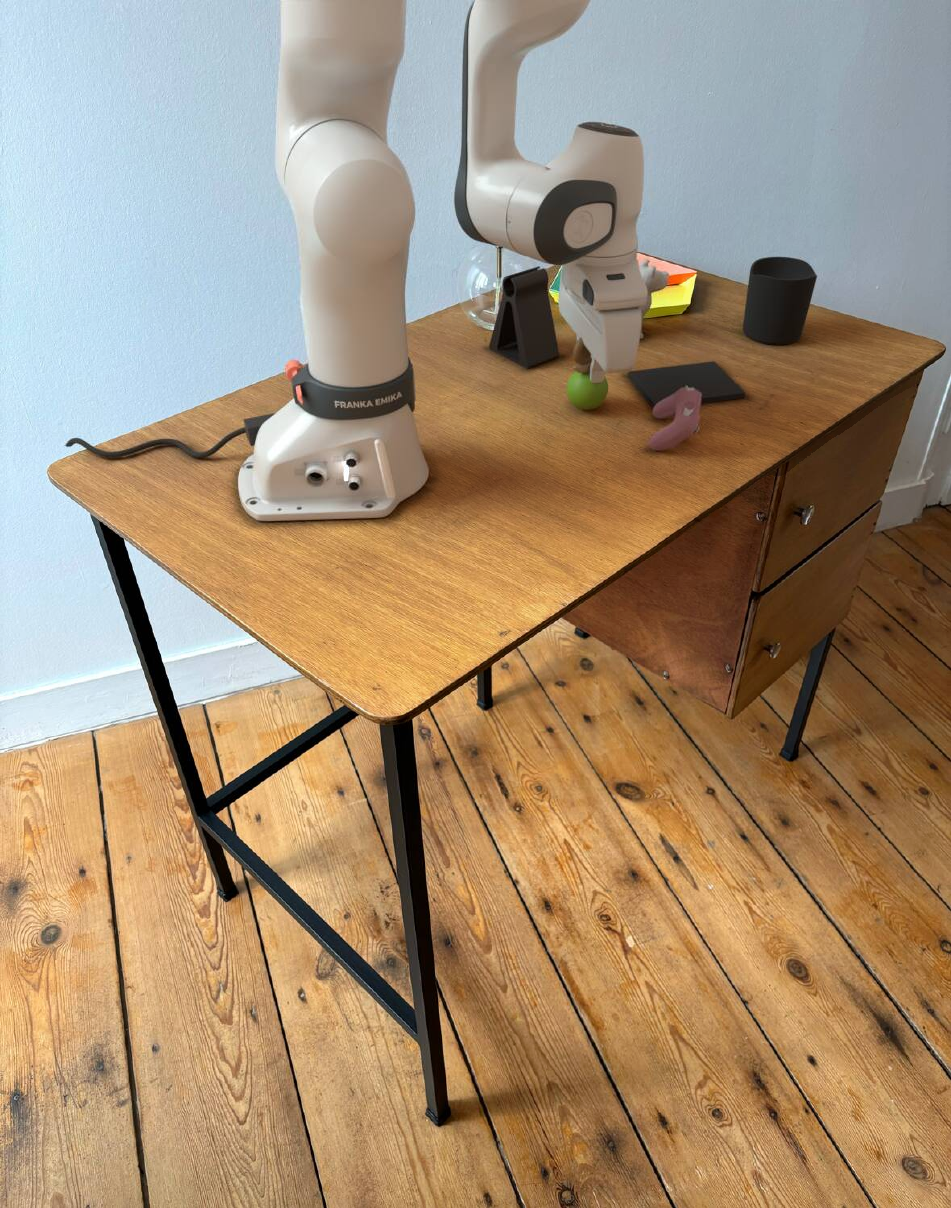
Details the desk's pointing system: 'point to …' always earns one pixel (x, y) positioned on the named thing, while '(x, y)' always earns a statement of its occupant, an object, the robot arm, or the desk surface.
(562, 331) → the desk surface
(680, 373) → the mat
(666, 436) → the video game controller
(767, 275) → the pen holder
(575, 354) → the snail figurine
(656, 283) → the dog figurine
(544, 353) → the phone stand
